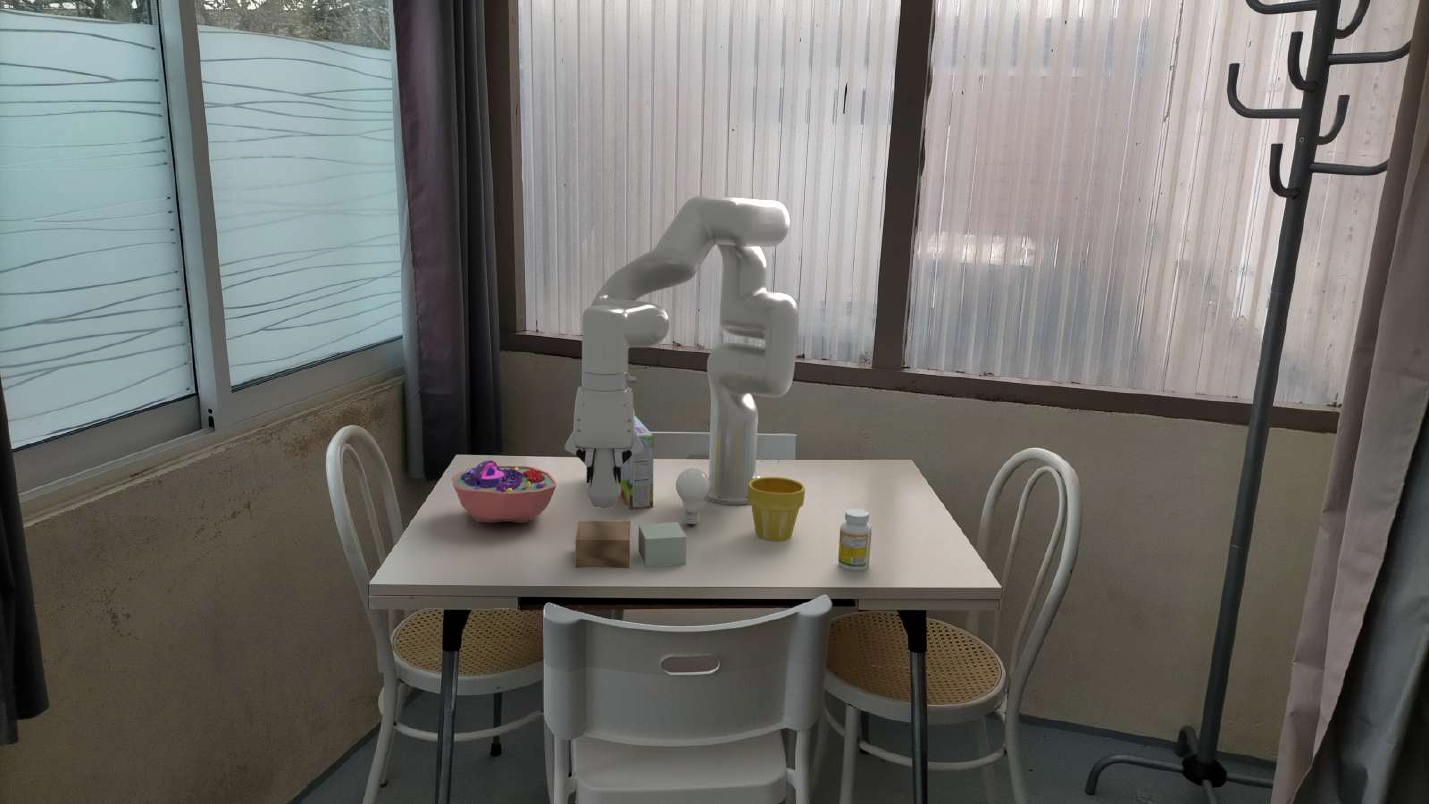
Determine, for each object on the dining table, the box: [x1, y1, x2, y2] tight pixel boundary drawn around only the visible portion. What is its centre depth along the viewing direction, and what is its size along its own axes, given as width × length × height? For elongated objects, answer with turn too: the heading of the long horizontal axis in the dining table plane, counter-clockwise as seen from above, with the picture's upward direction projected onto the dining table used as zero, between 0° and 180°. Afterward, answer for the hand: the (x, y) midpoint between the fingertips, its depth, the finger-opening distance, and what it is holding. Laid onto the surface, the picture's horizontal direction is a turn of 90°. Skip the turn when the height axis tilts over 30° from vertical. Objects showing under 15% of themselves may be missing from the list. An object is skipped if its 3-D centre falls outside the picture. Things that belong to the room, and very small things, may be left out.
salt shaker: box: [586, 443, 621, 509], centre depth 172 cm, size 6×6×13 cm
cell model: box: [451, 459, 558, 524], centre depth 191 cm, size 17×20×11 cm
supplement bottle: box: [837, 508, 873, 571], centre depth 176 cm, size 5×5×10 cm
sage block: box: [637, 521, 688, 568], centre depth 176 cm, size 7×7×5 cm
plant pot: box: [748, 476, 806, 542], centre depth 188 cm, size 10×10×10 cm
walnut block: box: [575, 520, 631, 569], centre depth 176 cm, size 9×9×5 cm
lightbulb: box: [675, 467, 710, 526], centre depth 192 cm, size 6×6×11 cm
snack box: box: [620, 415, 655, 510], centre depth 209 cm, size 21×6×15 cm, turn 18°
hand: (603, 486), depth 173 cm, fingers closed on salt shaker, 3 cm apart
